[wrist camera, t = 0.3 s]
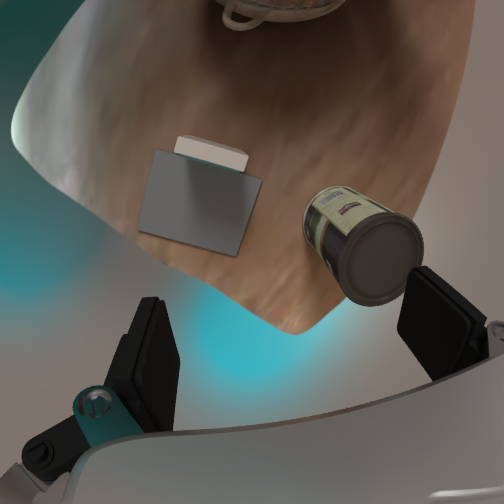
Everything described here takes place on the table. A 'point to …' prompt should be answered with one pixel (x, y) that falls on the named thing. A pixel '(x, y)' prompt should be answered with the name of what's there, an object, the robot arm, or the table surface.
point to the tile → (211, 153)
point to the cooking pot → (275, 11)
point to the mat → (197, 203)
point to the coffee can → (363, 244)
